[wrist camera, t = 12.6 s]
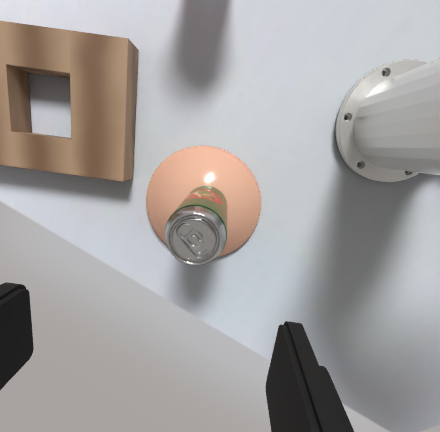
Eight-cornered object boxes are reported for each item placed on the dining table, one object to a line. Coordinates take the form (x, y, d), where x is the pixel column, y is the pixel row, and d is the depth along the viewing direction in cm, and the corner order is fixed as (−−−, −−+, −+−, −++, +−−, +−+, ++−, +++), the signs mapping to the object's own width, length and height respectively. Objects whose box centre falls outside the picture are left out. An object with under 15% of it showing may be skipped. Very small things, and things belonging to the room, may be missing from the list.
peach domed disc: (269, 154, 30) (270, 154, 29) (250, 262, 34) (250, 265, 33) (151, 138, 30) (149, 138, 29) (145, 248, 34) (143, 250, 33)
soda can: (207, 233, 32) (195, 281, 21) (177, 205, 31) (147, 239, 20) (236, 205, 31) (240, 240, 19) (206, 175, 30) (192, 193, 19)
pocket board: (138, 49, 28) (128, 38, 25) (133, 178, 31) (123, 181, 29) (-27, 27, 28) (-57, 12, 25) (-14, 158, 31) (-38, 159, 28)
